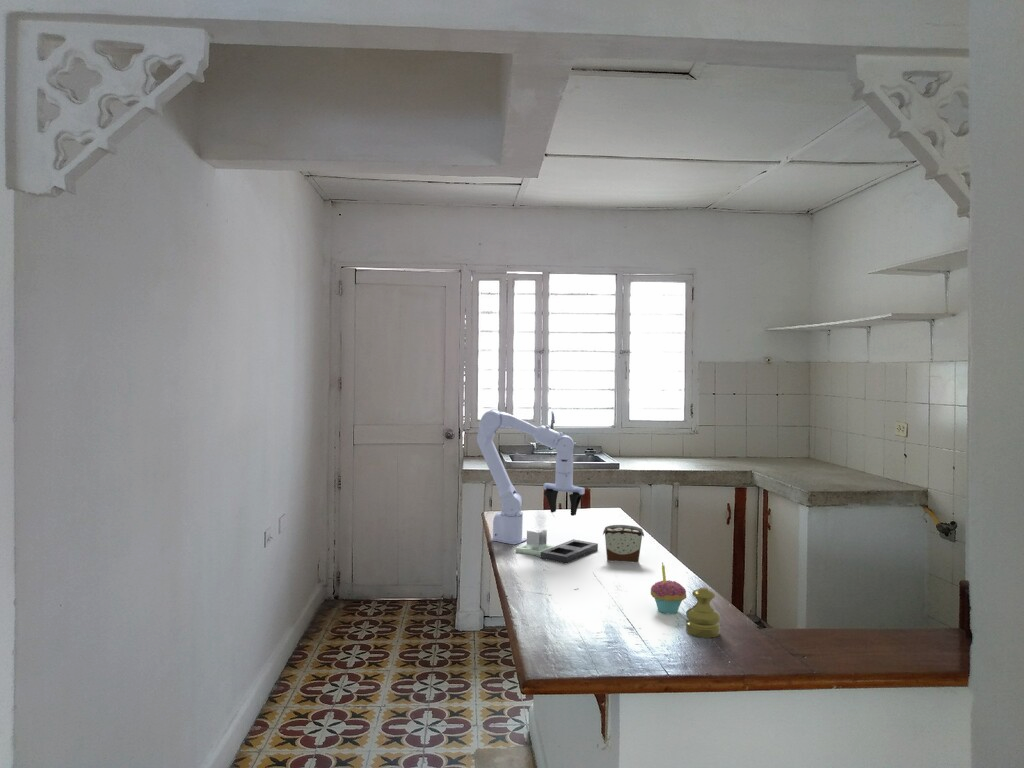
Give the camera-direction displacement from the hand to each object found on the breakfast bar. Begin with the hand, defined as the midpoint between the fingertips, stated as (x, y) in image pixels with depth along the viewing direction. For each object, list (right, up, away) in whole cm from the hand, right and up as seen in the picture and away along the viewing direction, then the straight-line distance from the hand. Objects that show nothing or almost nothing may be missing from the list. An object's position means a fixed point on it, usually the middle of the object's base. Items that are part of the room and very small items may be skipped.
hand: (563, 513), depth 240 cm
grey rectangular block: (-9, -10, -10) cm, 17 cm away
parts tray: (-9, -10, -10) cm, 17 cm away
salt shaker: (+26, -13, -77) cm, 82 cm away
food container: (+17, -11, -17) cm, 27 cm away
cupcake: (+21, -13, -63) cm, 67 cm away
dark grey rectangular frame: (+1, -10, -13) cm, 16 cm away
